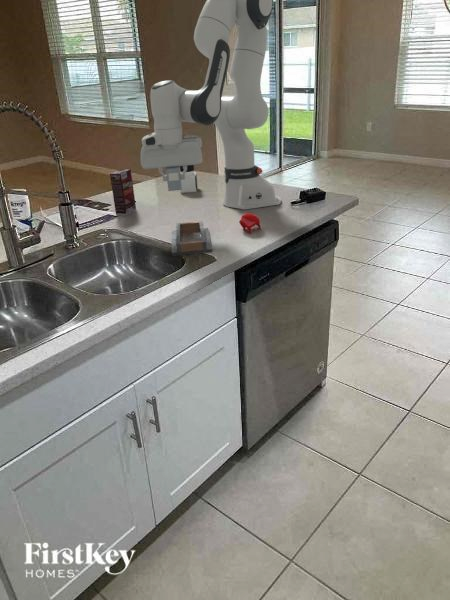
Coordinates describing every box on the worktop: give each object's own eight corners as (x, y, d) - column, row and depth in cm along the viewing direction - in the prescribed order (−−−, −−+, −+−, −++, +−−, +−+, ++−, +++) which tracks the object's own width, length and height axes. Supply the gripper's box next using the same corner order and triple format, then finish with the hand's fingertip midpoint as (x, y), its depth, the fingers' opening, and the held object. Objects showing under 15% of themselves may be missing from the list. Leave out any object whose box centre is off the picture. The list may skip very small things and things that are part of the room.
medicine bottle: (196, 192, 205) (194, 164, 199) (180, 193, 205) (177, 165, 200) (197, 188, 211) (195, 160, 206) (181, 189, 211) (179, 161, 206)
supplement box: (127, 216, 178) (120, 173, 171) (115, 215, 180) (108, 173, 173) (137, 209, 186) (131, 168, 178) (126, 209, 187) (119, 168, 180)
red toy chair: (246, 226, 150) (260, 214, 150) (234, 216, 153) (248, 204, 153) (252, 240, 156) (266, 228, 157) (242, 230, 160) (255, 219, 160)
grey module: (181, 184, 162) (179, 164, 158) (181, 189, 155) (179, 168, 152) (168, 185, 161) (166, 165, 158) (168, 191, 155) (165, 169, 152)
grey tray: (208, 230, 158) (207, 220, 156) (212, 252, 140) (211, 241, 138) (172, 233, 157) (171, 223, 156) (172, 255, 139) (170, 244, 138)
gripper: (200, 132, 154) (204, 174, 161) (138, 138, 153) (144, 180, 160) (201, 135, 149) (205, 179, 155) (136, 141, 148) (143, 185, 154)
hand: (174, 179), depth 157 cm, fingers closed on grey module, 4 cm apart
